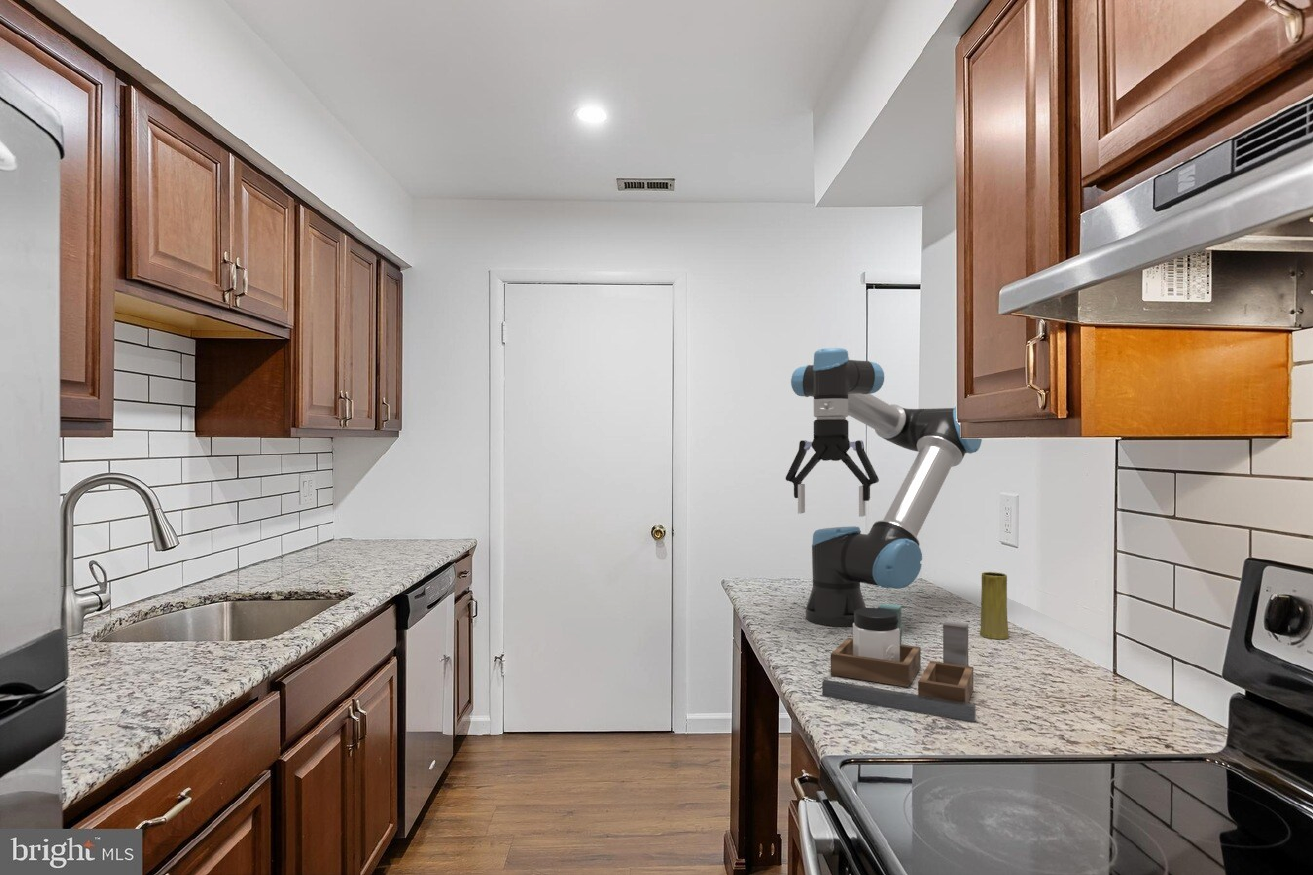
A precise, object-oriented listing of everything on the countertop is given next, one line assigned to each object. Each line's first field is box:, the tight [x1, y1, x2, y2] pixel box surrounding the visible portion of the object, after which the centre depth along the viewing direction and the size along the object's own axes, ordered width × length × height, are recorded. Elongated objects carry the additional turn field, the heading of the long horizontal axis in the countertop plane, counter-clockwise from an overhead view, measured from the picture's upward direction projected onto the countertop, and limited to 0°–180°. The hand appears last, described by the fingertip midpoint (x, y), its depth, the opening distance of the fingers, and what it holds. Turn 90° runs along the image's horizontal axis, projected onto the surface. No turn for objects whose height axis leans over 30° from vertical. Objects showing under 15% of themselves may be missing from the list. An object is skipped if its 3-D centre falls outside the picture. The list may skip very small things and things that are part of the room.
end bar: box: [821, 679, 977, 723], centre depth 124 cm, size 2×25×2 cm, turn 61°
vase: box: [979, 571, 1010, 640], centre depth 168 cm, size 6×6×14 cm
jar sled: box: [830, 603, 922, 688], centre depth 146 cm, size 21×14×10 cm
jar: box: [852, 607, 900, 662], centre depth 141 cm, size 9×8×12 cm
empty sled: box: [917, 619, 974, 703], centre depth 132 cm, size 21×7×10 cm, turn 151°
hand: (831, 514), depth 162 cm, fingers open, 13 cm apart
